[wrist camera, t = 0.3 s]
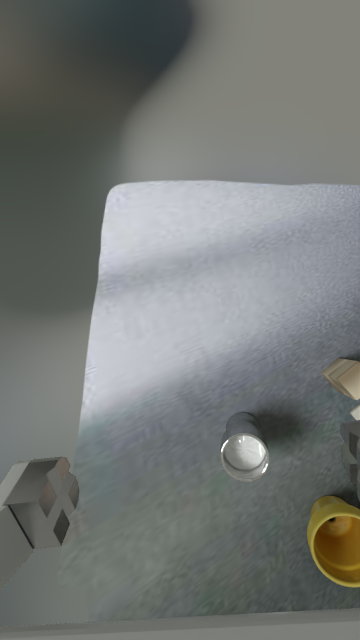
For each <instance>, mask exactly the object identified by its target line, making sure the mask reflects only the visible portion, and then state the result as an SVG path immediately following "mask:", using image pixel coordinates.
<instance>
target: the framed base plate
mask: <svg viewBox="0 0 360 640" xmlns="http://www.w3.org/2000/svg"><path fill="white" fill-rule="evenodd" d="M349 413H350V414H351V415H352V416H353V417H354V419H355V420H360V404H359V405H358V406H356V407H355V408H354V409H353V410H352V411H350V412H349Z"/></svg>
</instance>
